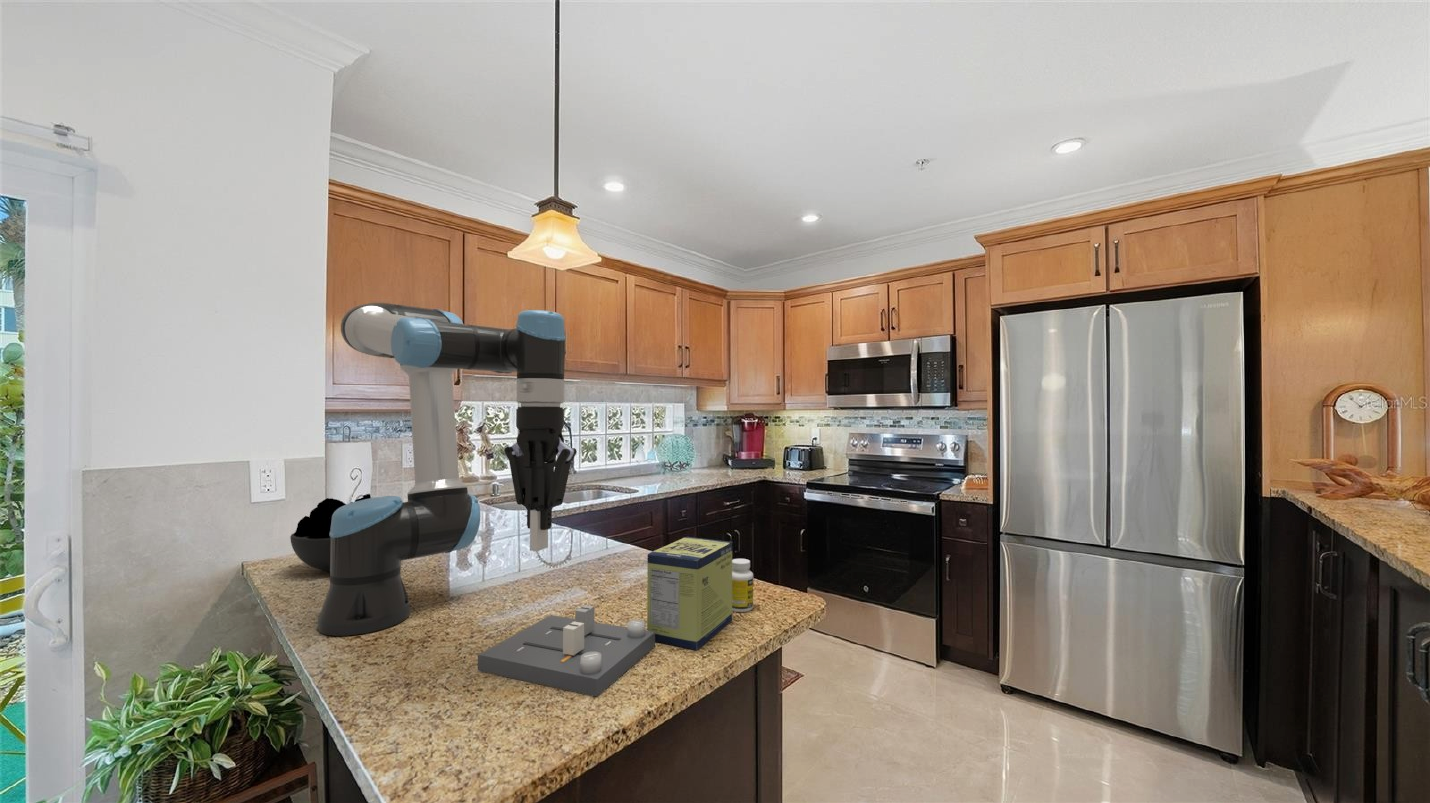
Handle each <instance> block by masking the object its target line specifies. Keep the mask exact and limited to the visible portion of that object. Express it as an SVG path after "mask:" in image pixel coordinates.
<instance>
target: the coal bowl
mask: <svg viewBox="0 0 1430 803" xmlns="http://www.w3.org/2000/svg"><path fill="white" fill-rule="evenodd" d="M370 498H372V497H371V494H370V493H367V494H364V495H363V496H362V497H360V498H357V499H354V501H350V502H349V503H353V502H356V501H360V500H365V499H370ZM344 505H346V503H345V502H343V501H341V500H340V499H335V498H333V497H331V498H329V497H327V498H325V499H323V500H321V501H320V502H318V504H317V505H316V507H315V508H313V509H312V510H311V511H310V512H309V516H308V515H305V516H303V517H302V518H301V519H300V520H299V521H298V523H297V526H296V529H295V531H294V532H293V533H291V535H290V538H289V539H290V544H291V547H292V550H293V551H294V554H295V555H296V557H298V558H299V560H301V562H303V563H304V564H306V565H307V566H309V567H311V568H315V569H316V570H321V571H329V572H330V546H331V537H330V536H329V533H330V529H331V521H332V515H333V513H334V512H335V511H336V510H337V509H338V508H340V507H342V506H344Z"/></svg>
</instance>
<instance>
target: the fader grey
mask: <svg viewBox="0 0 1430 803" xmlns="http://www.w3.org/2000/svg"><path fill="white" fill-rule="evenodd" d="M574 613H575V614H574V615H575V616H574V619H575V622H580V623H584V636H585V635H587V634H589V633H590V632H592V631H593V630H594V622H595V606H593V605H586V604H584V605H583V606H581V607H579V608H577V609H575V612H574Z"/></svg>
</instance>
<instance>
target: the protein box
mask: <svg viewBox="0 0 1430 803" xmlns="http://www.w3.org/2000/svg"><path fill="white" fill-rule="evenodd" d="M732 560H733V541H727V540H719V539H710V538H699V537H692V536H685V537H682V538H681V539H678V540H675V541H674V542H671V543H670V544H667V545H665V546H661V547H660V548H658V549H655V550H653V551H651V552H649V553H647V582H646V584H647V587H646V588H647V594H646V595H647V598H646V599H647V600H646V601H647V602H646V604H647V606H646V607H647V611H646V615H647V616H646V617H647V618H646V620H647V621H646V622H647V624H646V625H647V626H646V628H647V629H646V631H652V632H655V643H656V642H657V643H661V644H667V645H671V646H676V647H680V648H683V649H684V648H685V649H690V650H694V651H698V650H699V649H700V648H702V647H703V646H704V645H706V644H707V642H709V641H710V640H711V639H713V637H715V636H716V635H717V634H718V633H719V632H720V631H721V630H723V629H724V628H725V627H726V626H728V625H729V624H730V623H731V622H732V621H733V611H732Z"/></svg>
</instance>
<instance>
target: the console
mask: <svg viewBox="0 0 1430 803" xmlns="http://www.w3.org/2000/svg"><path fill="white" fill-rule="evenodd" d="M572 622H575V618H572V617H566V616H558V615H553V614H550V615H548V616H546V617H545V618H543V619H541V620H539V621H537V622H536V623H533V624H532V625H530V626H528V627H526V628H524V629H522V630H520V631H519V632H517V633H515V634H513V635H512V636H510V637H507V638H505V639H504V640H502V641H500V642H499V643H496V644H495V645H493V646H491V647H489V648H488V649H485V650H484V651H482V652H480V653H479V654H477V671H478V672H483V673H487V674H490V675H491V674H492V675H496V676H500V677H506V678H510V679H513V680H514V679H515V680H519V681H523V682H527V683H533V684H535V685H536V684H537V685H540V686H541V685H542V686H546V687H550V688H556V689H560V690H564V691H569V692H574V693H578V694H583V695H587V696H591V697H596V698H597V697H599V696H600V695H601V694H602V693H603V692H604V691H606V690H607V689H608V688H609V687H611V685H613V683H615V682H616V681H618V679H619V678H620V677H622V676H623V675H624V674H625V673H627V671H629V670H630V669H631V668H632V667H633V666H635V665H636V664H637V663H638V662H639V661H641V659H642V658H644V657H645V656H646V655H647V654H648V653H650V651H651V650H653V649H654V648H656V641H655V632H652V631H647V629H646V621H645V620H642V619H632V620H629V621H628V622H627V624H626V625H627V626H621V625H620V626H619V625H616V624H608V623H602V622H596V621H594V630H593V631H592V632H590V633H589V634H587V635H585V636H584V649H582V650H581V651H579V652H578V653H577V654H575V655H574V656H573V655H568V654H563V628H564V627H565V626H567V625H569V624H570V623H572Z"/></svg>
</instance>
